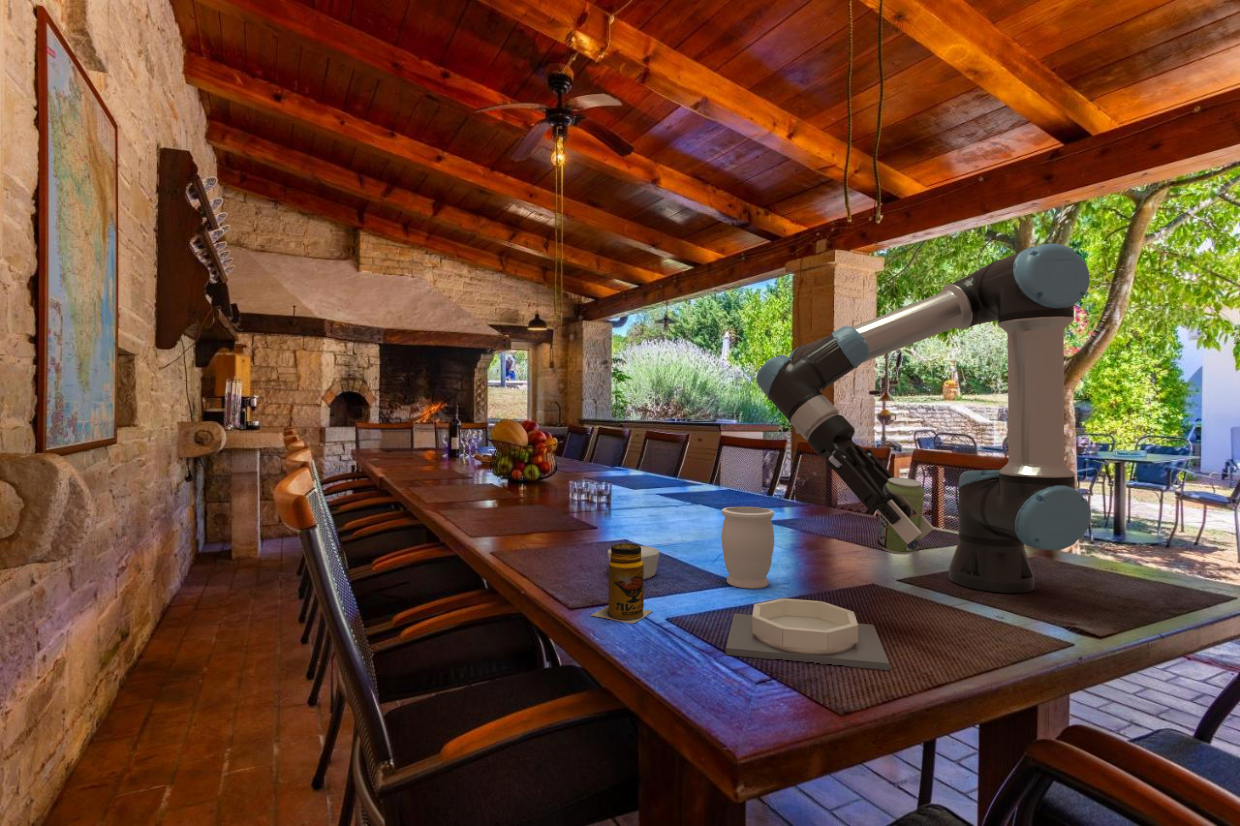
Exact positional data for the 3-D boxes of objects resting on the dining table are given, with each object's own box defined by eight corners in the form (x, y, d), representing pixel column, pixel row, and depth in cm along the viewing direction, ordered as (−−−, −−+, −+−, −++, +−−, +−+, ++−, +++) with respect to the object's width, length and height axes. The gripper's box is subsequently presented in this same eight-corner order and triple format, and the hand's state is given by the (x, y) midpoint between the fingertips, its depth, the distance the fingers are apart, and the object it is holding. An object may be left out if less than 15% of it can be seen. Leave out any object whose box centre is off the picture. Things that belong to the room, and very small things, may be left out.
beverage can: (897, 546, 108) (898, 475, 108) (933, 556, 101) (934, 480, 101) (867, 549, 106) (869, 476, 106) (902, 559, 99) (903, 481, 99)
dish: (850, 623, 103) (850, 603, 103) (861, 659, 88) (861, 635, 88) (755, 616, 107) (755, 596, 107) (750, 648, 92) (750, 626, 92)
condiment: (633, 624, 106) (634, 551, 105) (589, 616, 110) (590, 546, 110) (653, 612, 112) (653, 543, 112) (610, 604, 116) (611, 538, 116)
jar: (711, 580, 133) (711, 507, 133) (752, 574, 137) (752, 504, 137) (742, 593, 123) (742, 515, 123) (785, 587, 127) (785, 512, 127)
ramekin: (636, 566, 145) (636, 542, 145) (670, 576, 136) (670, 551, 136) (596, 574, 138) (596, 549, 138) (630, 585, 129) (630, 559, 129)
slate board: (873, 630, 103) (873, 624, 103) (889, 670, 87) (889, 663, 87) (734, 619, 108) (734, 613, 108) (725, 654, 93) (725, 647, 93)
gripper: (832, 440, 120) (923, 542, 108) (783, 444, 107) (880, 559, 96) (860, 412, 116) (958, 514, 105) (812, 412, 103) (917, 528, 92)
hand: (920, 535), depth 100 cm, fingers closed on beverage can, 5 cm apart
